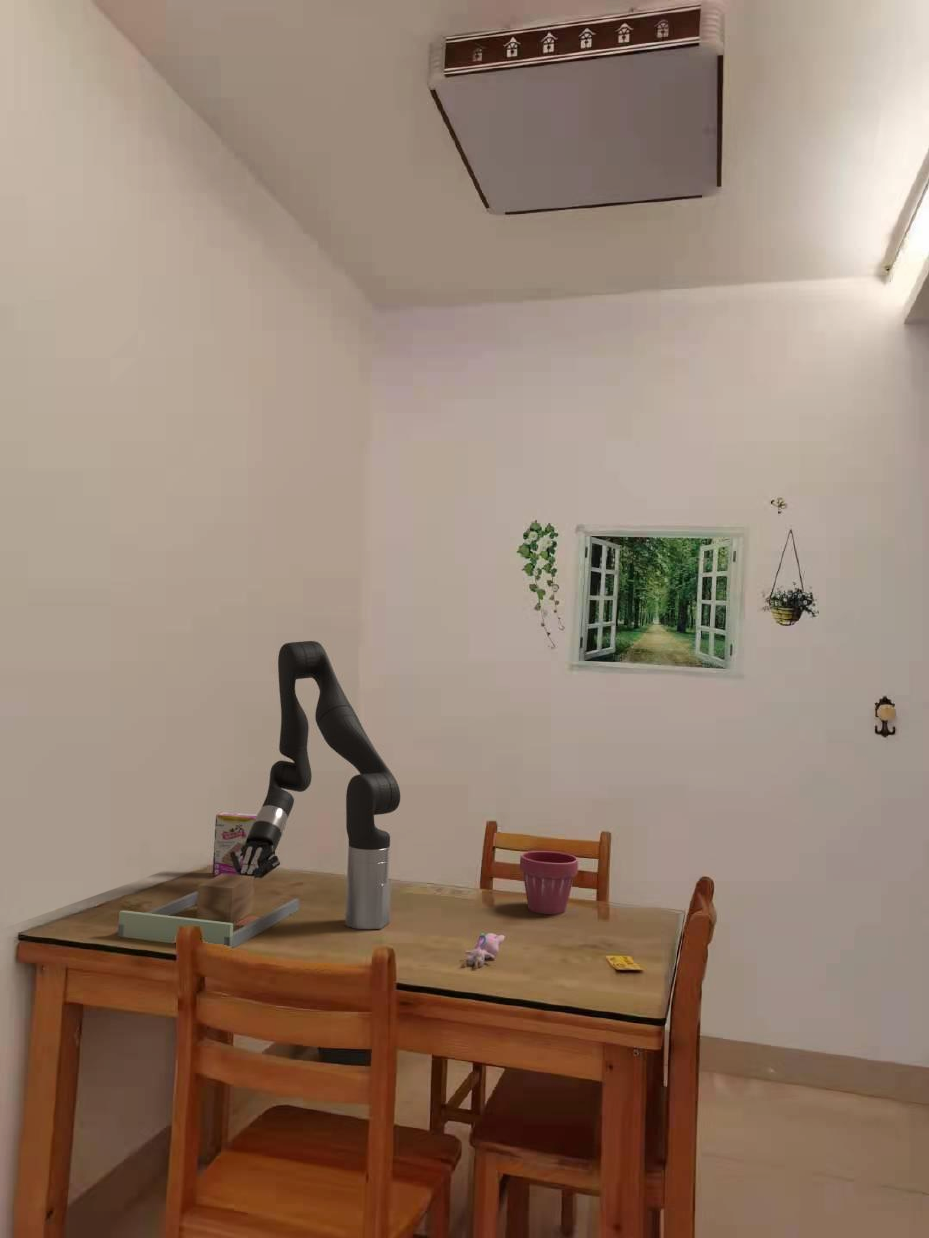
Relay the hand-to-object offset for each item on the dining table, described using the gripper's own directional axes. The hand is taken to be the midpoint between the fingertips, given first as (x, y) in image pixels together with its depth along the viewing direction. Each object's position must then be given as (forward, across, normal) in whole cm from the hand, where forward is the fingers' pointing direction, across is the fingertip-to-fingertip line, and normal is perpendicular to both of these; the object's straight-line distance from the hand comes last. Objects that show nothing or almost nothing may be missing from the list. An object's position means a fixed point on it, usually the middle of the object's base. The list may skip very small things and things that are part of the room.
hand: (241, 890), depth 217 cm
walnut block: (+8, 0, -2) cm, 8 cm away
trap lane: (+12, 0, -6) cm, 13 cm away
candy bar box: (-18, -17, +24) cm, 34 cm away
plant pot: (-17, +67, +24) cm, 73 cm away
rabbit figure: (+13, +62, -7) cm, 63 cm away
